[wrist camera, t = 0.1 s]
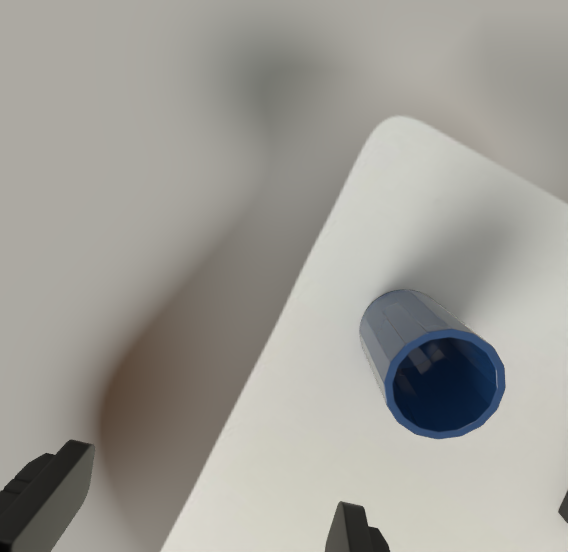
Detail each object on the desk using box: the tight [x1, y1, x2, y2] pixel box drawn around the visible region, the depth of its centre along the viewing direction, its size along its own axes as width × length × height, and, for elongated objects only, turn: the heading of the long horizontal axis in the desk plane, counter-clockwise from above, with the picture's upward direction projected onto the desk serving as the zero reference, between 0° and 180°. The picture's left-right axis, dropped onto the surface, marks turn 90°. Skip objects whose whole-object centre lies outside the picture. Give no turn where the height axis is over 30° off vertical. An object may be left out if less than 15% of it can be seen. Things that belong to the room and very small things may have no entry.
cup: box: [360, 290, 505, 439], centre depth 27 cm, size 7×7×9 cm
